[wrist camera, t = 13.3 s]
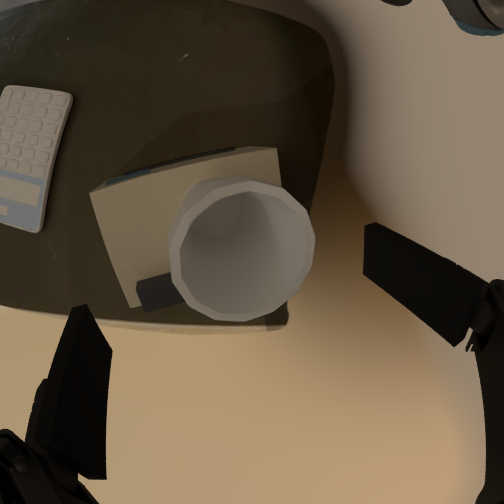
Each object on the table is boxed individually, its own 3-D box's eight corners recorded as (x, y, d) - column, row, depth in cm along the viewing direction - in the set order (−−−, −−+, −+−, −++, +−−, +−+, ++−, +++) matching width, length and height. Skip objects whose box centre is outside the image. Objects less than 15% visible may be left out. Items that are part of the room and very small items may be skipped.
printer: (248, 143, 36) (283, 145, 26) (262, 236, 43) (297, 270, 32) (107, 176, 32) (82, 193, 22) (135, 271, 38) (129, 318, 28)
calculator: (77, 94, 26) (72, 92, 25) (43, 232, 32) (39, 236, 30) (9, 85, 21) (3, 83, 19) (-18, 213, 26) (-24, 216, 24)
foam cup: (148, 218, 27) (139, 277, 15) (204, 144, 26) (237, 147, 14) (218, 265, 31) (254, 339, 20) (271, 200, 30) (338, 241, 19)
